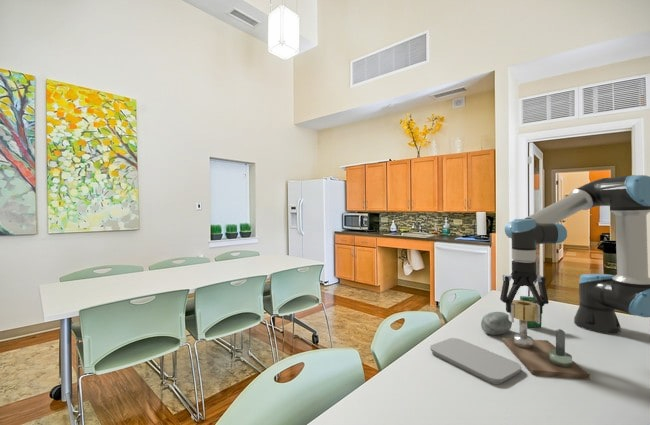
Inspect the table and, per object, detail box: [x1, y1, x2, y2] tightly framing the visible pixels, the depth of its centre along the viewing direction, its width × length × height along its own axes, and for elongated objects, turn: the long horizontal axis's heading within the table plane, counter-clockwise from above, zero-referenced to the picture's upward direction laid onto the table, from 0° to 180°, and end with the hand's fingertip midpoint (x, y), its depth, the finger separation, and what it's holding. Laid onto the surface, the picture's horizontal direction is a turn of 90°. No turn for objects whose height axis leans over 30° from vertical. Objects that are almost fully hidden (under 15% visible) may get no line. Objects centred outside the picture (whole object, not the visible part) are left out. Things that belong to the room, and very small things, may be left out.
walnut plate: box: [501, 337, 591, 380], centre depth 107 cm, size 16×24×2 cm, turn 170°
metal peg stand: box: [549, 328, 573, 368], centre depth 100 cm, size 6×6×11 cm
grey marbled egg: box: [480, 311, 513, 336], centre depth 129 cm, size 14×10×10 cm
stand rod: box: [513, 320, 534, 349], centre depth 113 cm, size 6×6×11 cm
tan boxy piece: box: [512, 299, 538, 321], centre depth 113 cm, size 8×8×5 cm
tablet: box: [429, 337, 522, 385], centre depth 105 cm, size 16×26×2 cm, turn 31°
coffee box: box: [518, 295, 543, 329], centre depth 134 cm, size 8×3×13 cm, turn 79°
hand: (524, 321), depth 113 cm, fingers closed on tan boxy piece, 8 cm apart
